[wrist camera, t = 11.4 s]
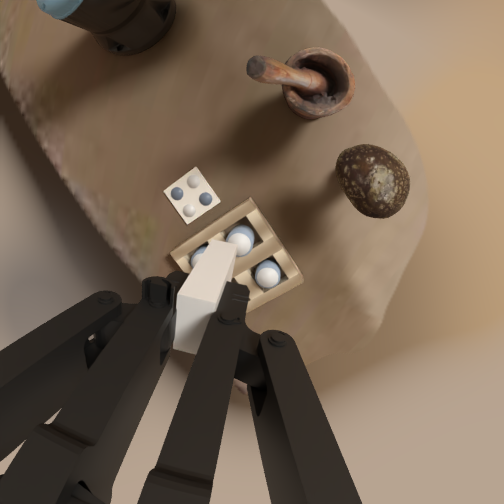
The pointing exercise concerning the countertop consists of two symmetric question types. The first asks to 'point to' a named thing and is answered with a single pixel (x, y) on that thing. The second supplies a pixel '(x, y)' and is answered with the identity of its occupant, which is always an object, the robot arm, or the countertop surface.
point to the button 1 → (198, 255)
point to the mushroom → (373, 180)
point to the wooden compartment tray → (246, 266)
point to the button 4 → (268, 273)
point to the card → (192, 195)
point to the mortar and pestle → (308, 80)
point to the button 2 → (241, 239)
